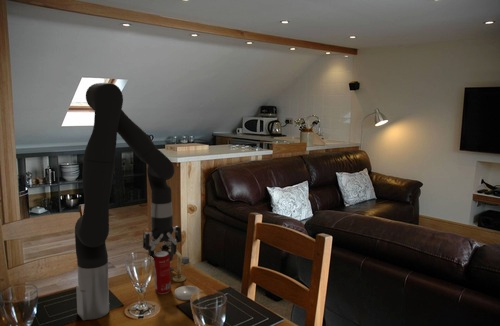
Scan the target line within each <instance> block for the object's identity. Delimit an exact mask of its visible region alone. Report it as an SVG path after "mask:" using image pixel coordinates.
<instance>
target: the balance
mask: <svg viewBox="0 0 500 326" xmlns="http://www.w3.org/2000/svg"><path fill="white" fill-rule="evenodd" d="M176 250H177V251H176V253H175V254H174V255H176V256H177V260H176V261H177V262H176V263H177V266H176V267H177V269H176V271H177V273H176V274H177V275H174V276H173V277H172V281H173V282H174V283H183V282H185V281H186V279H187V277H186V275H182V266H183V267H187V266H188V267H189V266H190V265H191V262H190V258H189V257H187V256H183V255H182V254H181V253H180V251H179V250H178V248H177V247H176ZM169 251H170V252H171V248H170V249H169Z"/></svg>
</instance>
